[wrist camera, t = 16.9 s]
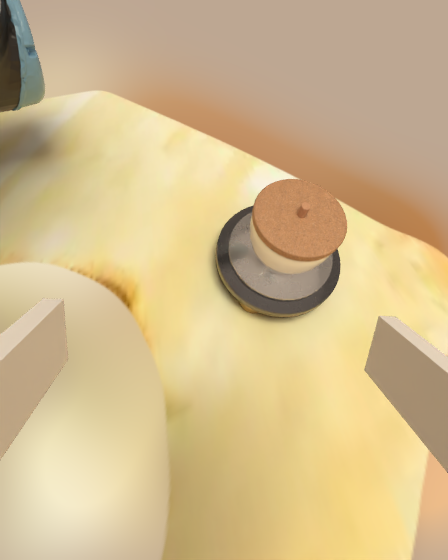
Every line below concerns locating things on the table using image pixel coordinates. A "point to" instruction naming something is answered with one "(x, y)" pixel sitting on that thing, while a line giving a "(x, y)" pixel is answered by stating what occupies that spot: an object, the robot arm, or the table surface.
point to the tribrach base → (269, 275)
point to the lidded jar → (296, 226)
